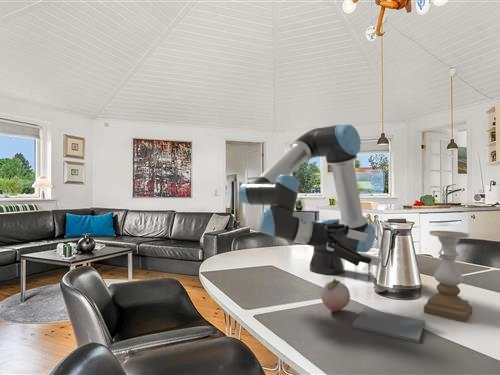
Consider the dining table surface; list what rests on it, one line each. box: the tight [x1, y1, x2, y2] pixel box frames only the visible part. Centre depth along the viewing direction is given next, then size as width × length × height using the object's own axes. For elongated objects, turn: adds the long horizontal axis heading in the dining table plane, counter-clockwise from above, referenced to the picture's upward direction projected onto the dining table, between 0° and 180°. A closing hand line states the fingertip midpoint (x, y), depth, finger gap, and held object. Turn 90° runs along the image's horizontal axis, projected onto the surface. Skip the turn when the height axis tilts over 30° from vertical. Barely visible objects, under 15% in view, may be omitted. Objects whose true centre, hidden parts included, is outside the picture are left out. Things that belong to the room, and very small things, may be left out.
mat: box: [351, 308, 426, 344], centre depth 88 cm, size 16×14×1 cm
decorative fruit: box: [320, 278, 351, 313], centre depth 97 cm, size 9×8×10 cm
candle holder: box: [423, 230, 473, 323], centre depth 97 cm, size 11×11×24 cm
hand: (372, 249), depth 102 cm, fingers open, 13 cm apart
